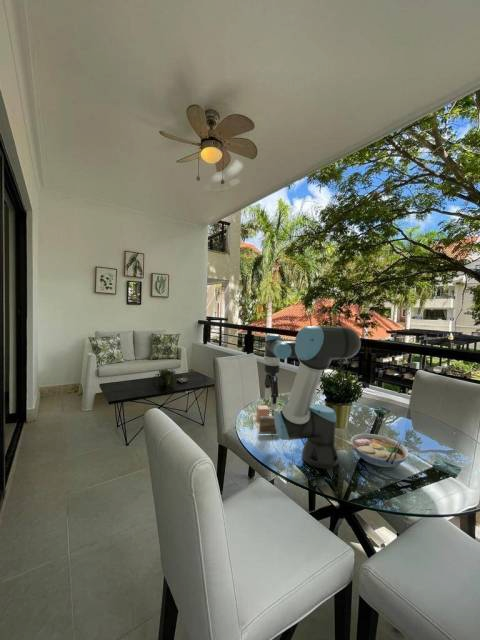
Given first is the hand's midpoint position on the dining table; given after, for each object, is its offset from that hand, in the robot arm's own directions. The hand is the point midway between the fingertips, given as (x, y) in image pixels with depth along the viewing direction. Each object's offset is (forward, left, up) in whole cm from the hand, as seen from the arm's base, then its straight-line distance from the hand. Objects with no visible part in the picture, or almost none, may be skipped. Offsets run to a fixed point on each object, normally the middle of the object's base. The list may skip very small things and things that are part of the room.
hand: (270, 404), depth 152 cm
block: (+16, 0, -14) cm, 21 cm away
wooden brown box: (+10, 0, -14) cm, 18 cm away
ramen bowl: (-32, -41, -15) cm, 54 cm away
